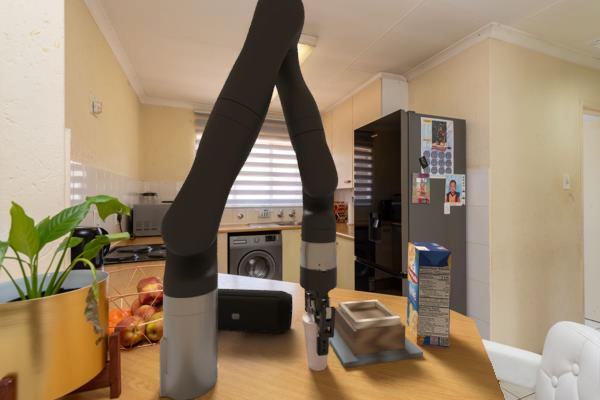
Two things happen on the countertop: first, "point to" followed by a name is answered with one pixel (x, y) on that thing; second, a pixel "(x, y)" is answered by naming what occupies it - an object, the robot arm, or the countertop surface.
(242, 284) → the countertop surface
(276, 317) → the portable speaker
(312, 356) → the smoothie
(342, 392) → the countertop surface
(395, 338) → the pedestal base
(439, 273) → the beverage box
